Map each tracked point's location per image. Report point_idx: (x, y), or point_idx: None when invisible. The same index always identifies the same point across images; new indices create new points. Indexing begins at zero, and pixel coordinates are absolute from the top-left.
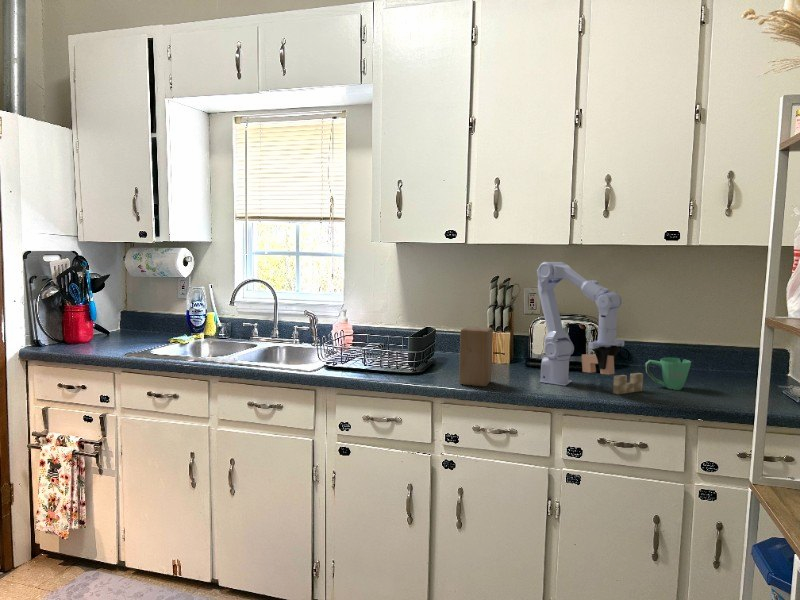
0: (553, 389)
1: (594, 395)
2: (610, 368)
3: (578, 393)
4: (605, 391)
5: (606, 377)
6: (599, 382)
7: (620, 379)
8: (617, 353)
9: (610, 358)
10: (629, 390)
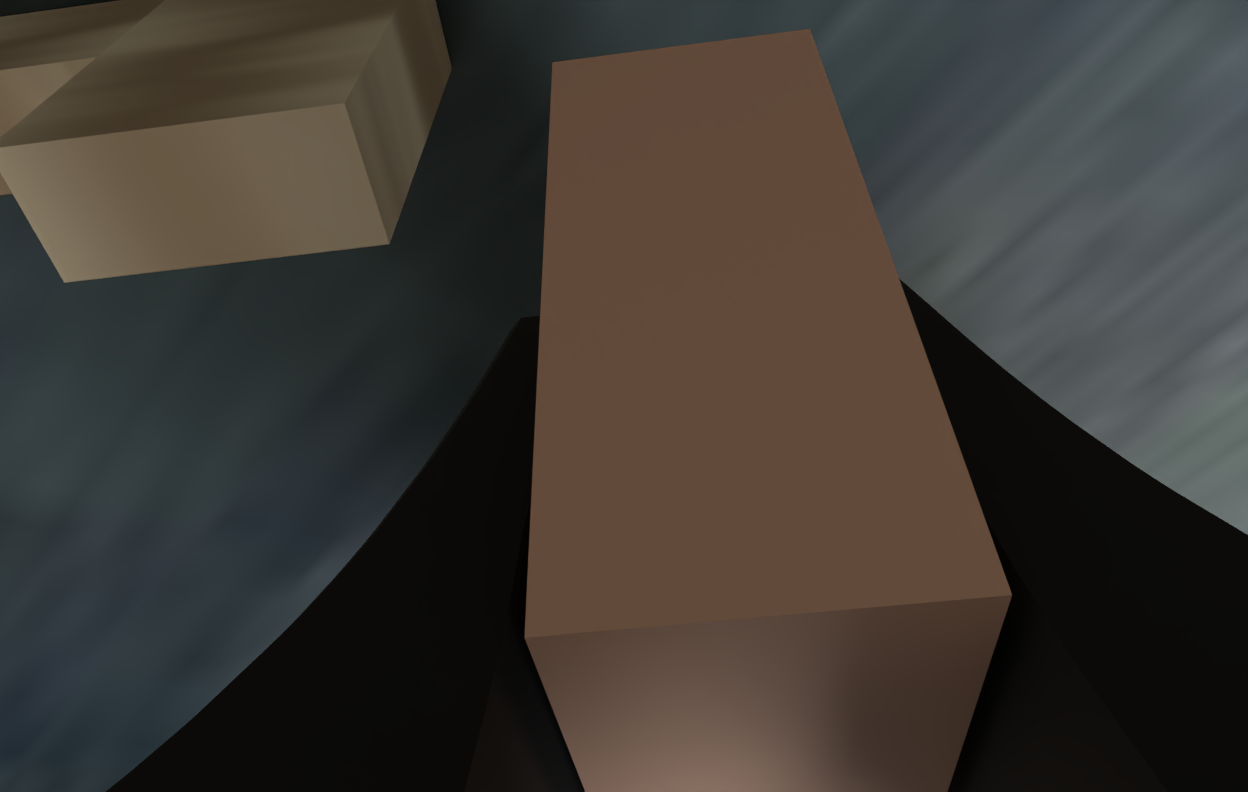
0: (1191, 485)
1: (929, 30)
2: (763, 149)
3: (1072, 225)
4: (515, 209)
5: (66, 729)
6: (289, 600)
7: (269, 83)
8: (136, 787)
9: (796, 484)
10: (64, 17)
